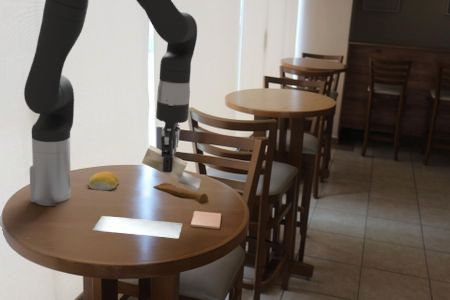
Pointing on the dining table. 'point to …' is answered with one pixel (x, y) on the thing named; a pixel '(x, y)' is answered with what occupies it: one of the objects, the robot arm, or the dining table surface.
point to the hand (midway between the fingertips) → (168, 169)
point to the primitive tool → (182, 192)
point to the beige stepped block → (178, 167)
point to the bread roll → (103, 181)
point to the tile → (206, 220)
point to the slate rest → (138, 227)
